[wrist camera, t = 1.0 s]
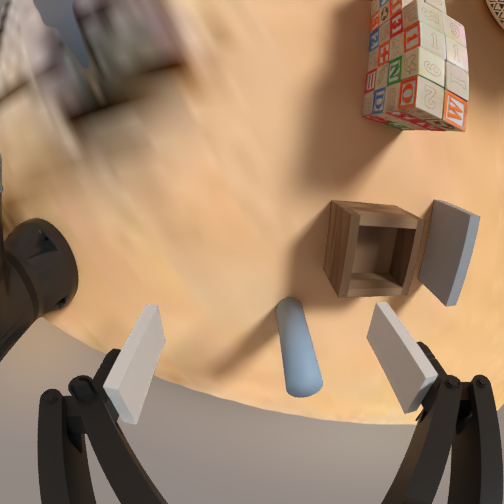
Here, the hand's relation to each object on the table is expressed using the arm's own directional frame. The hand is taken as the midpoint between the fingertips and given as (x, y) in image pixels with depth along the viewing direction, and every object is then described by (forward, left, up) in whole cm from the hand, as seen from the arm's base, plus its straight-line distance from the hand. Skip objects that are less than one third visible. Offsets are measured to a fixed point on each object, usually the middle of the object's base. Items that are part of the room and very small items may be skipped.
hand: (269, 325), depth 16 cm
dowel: (+4, -11, -18) cm, 22 cm away
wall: (+25, 0, -18) cm, 31 cm away
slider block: (+13, 0, -18) cm, 22 cm away
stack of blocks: (+16, +25, -19) cm, 35 cm away
